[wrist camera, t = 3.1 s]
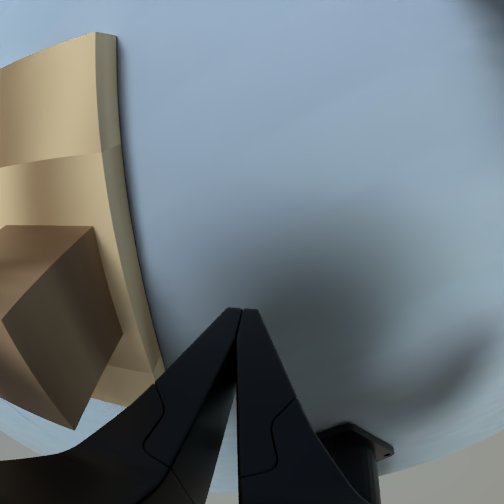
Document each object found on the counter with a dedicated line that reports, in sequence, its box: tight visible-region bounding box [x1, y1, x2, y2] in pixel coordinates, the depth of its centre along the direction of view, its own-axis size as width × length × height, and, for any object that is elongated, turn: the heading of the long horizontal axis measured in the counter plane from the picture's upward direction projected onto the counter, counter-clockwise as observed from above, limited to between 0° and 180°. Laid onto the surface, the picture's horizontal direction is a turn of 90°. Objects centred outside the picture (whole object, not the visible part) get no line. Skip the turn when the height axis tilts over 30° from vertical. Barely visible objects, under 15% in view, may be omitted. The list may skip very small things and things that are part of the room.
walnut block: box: [0, 225, 123, 430], centre depth 8 cm, size 4×4×4 cm
